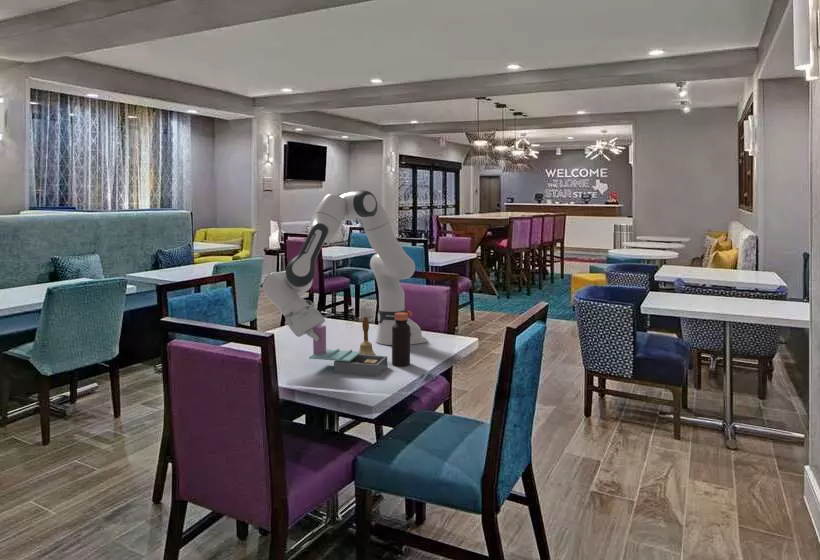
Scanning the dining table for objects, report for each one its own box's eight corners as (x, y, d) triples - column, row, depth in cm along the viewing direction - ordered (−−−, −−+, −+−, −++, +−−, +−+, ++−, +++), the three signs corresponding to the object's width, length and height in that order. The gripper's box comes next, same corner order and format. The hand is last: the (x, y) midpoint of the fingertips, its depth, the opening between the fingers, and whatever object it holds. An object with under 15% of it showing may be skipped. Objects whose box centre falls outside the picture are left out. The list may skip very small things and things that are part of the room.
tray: (387, 369, 211) (387, 356, 211) (377, 378, 200) (377, 365, 199) (346, 365, 215) (345, 353, 214) (334, 375, 204) (333, 361, 203)
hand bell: (373, 360, 224) (373, 319, 221) (353, 358, 225) (352, 318, 223) (378, 354, 232) (378, 315, 230) (358, 353, 233) (358, 314, 231)
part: (377, 368, 210) (377, 360, 209) (374, 371, 206) (374, 362, 206) (367, 367, 211) (367, 359, 210) (363, 370, 207) (363, 362, 207)
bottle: (413, 365, 217) (413, 312, 214) (405, 369, 211) (405, 315, 208) (396, 362, 220) (397, 311, 217) (388, 367, 214) (388, 314, 211)
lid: (360, 353, 213) (360, 325, 211) (349, 361, 202) (349, 332, 200) (321, 350, 216) (321, 322, 215) (308, 358, 205) (308, 329, 204)
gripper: (288, 309, 200) (315, 339, 199) (312, 300, 219) (337, 326, 218) (277, 321, 201) (303, 350, 200) (302, 311, 221) (326, 337, 220)
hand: (321, 338), depth 210 cm, fingers closed on lid, 3 cm apart
